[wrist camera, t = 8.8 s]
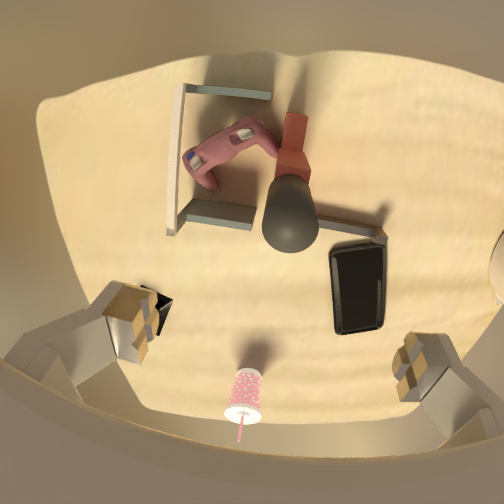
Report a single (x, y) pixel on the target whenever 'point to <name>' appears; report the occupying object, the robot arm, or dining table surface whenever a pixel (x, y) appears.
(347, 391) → the dining table surface
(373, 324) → the phone
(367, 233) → the rail
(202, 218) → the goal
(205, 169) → the video game controller
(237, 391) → the beverage cup
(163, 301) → the black piece
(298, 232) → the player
